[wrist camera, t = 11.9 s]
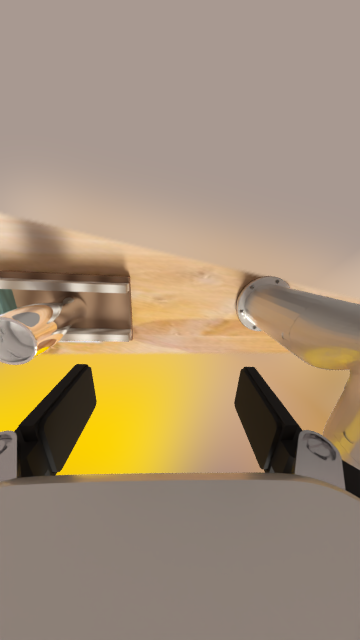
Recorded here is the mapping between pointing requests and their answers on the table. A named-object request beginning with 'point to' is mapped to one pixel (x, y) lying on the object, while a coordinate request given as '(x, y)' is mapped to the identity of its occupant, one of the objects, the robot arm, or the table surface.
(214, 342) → the table surface
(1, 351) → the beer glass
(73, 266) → the table surface
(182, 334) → the table surface
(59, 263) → the table surface
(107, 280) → the track board
